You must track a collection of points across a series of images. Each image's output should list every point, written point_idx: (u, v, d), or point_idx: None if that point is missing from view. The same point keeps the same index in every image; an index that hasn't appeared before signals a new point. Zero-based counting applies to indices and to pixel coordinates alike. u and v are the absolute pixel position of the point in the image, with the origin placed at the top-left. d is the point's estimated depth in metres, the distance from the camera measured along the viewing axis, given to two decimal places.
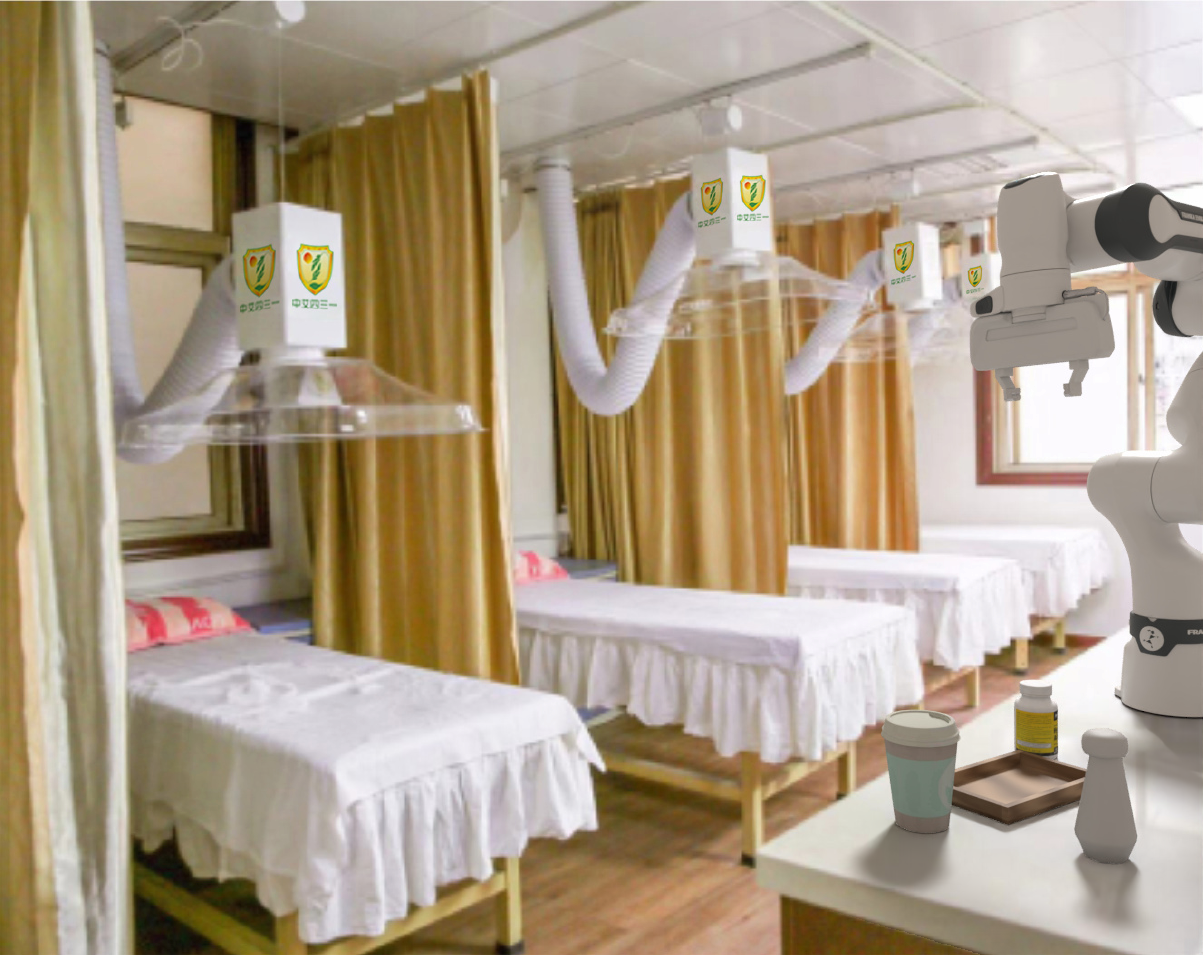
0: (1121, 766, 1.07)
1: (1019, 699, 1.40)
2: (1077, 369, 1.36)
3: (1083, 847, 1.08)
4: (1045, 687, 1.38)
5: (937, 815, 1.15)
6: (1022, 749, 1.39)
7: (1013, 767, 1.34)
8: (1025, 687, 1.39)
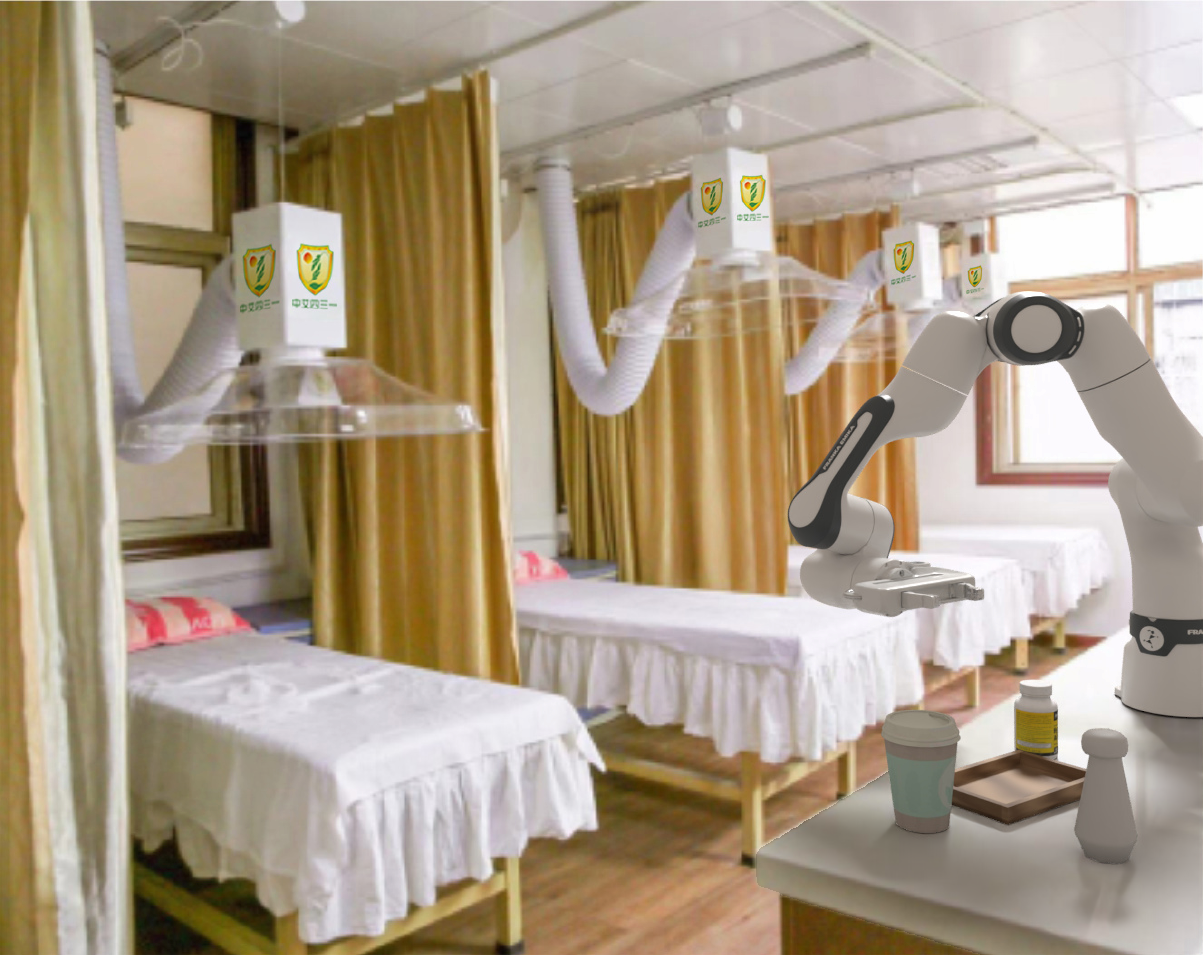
0: (1121, 766, 1.07)
1: (1019, 699, 1.40)
2: (909, 607, 1.49)
3: (1083, 847, 1.08)
4: (1045, 687, 1.38)
5: (937, 815, 1.15)
6: (1022, 749, 1.39)
7: (1013, 767, 1.34)
8: (1025, 687, 1.39)
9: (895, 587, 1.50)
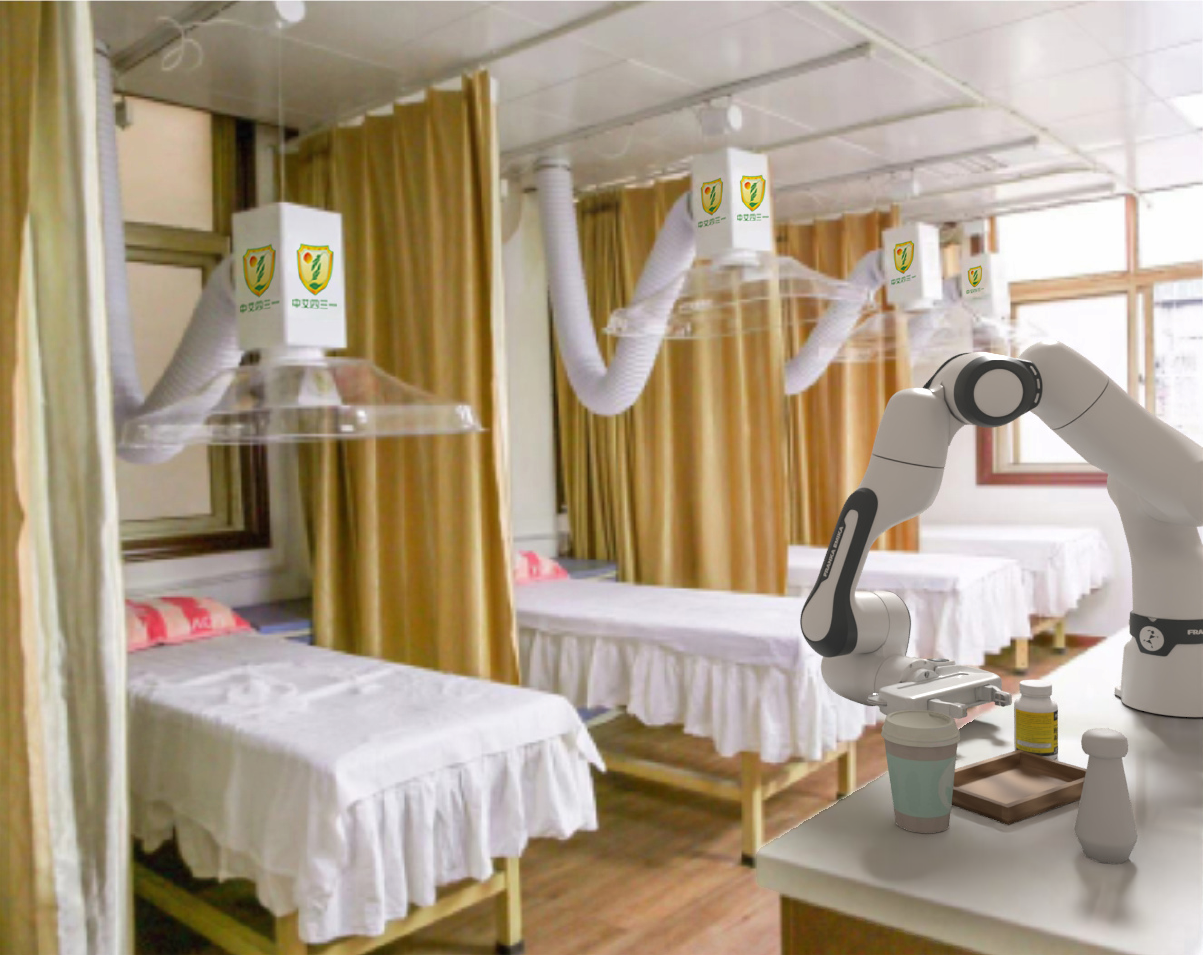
0: (1121, 766, 1.07)
1: (1019, 699, 1.40)
2: None
3: (1083, 847, 1.08)
4: (1045, 687, 1.38)
5: (937, 815, 1.15)
6: (1022, 749, 1.39)
7: (1013, 767, 1.34)
8: (1025, 687, 1.39)
9: (921, 695, 1.47)
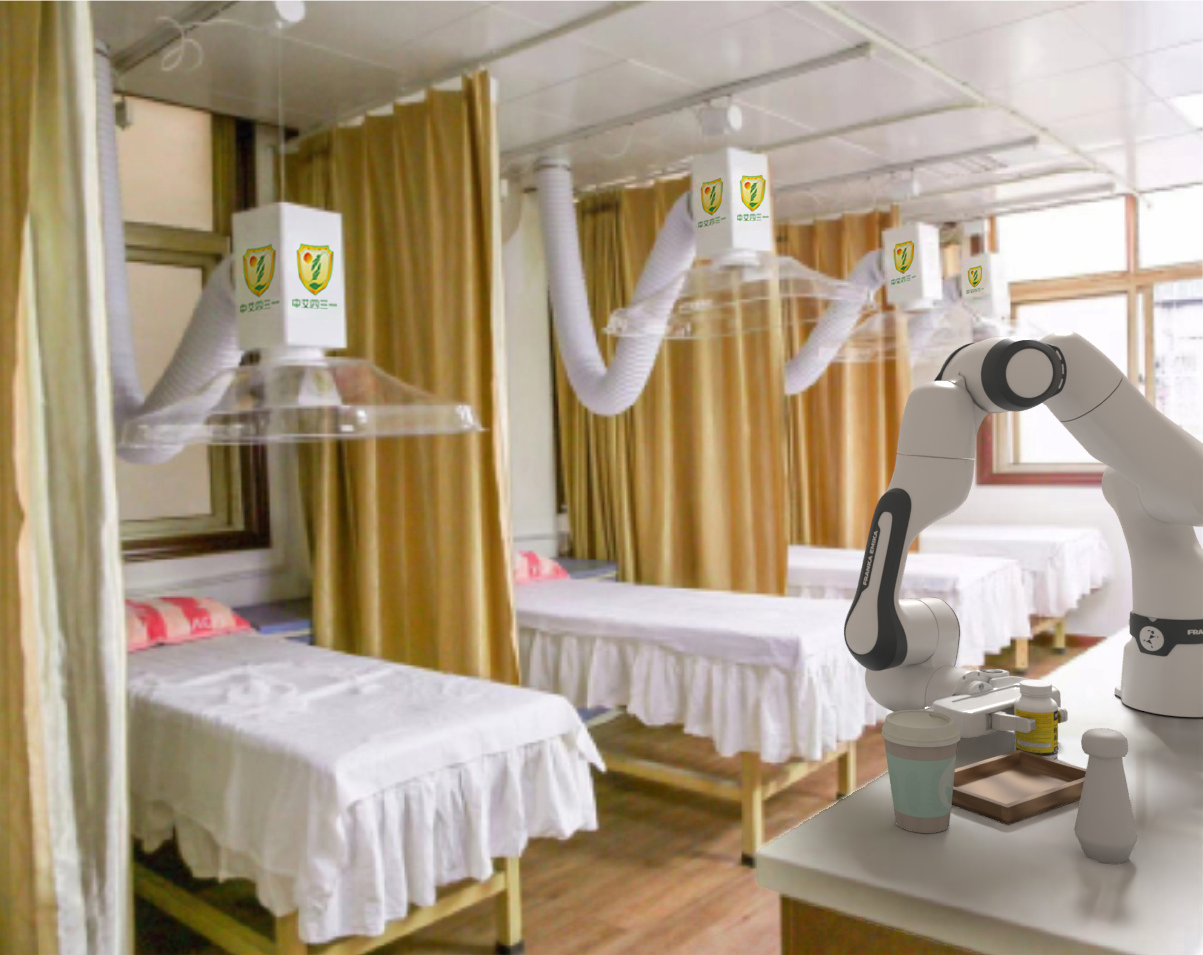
0: (1121, 766, 1.07)
1: (1019, 699, 1.40)
2: None
3: (1083, 847, 1.08)
4: (1045, 687, 1.38)
5: (937, 815, 1.15)
6: (1022, 749, 1.39)
7: (1013, 767, 1.34)
8: (1025, 687, 1.39)
9: (979, 709, 1.39)
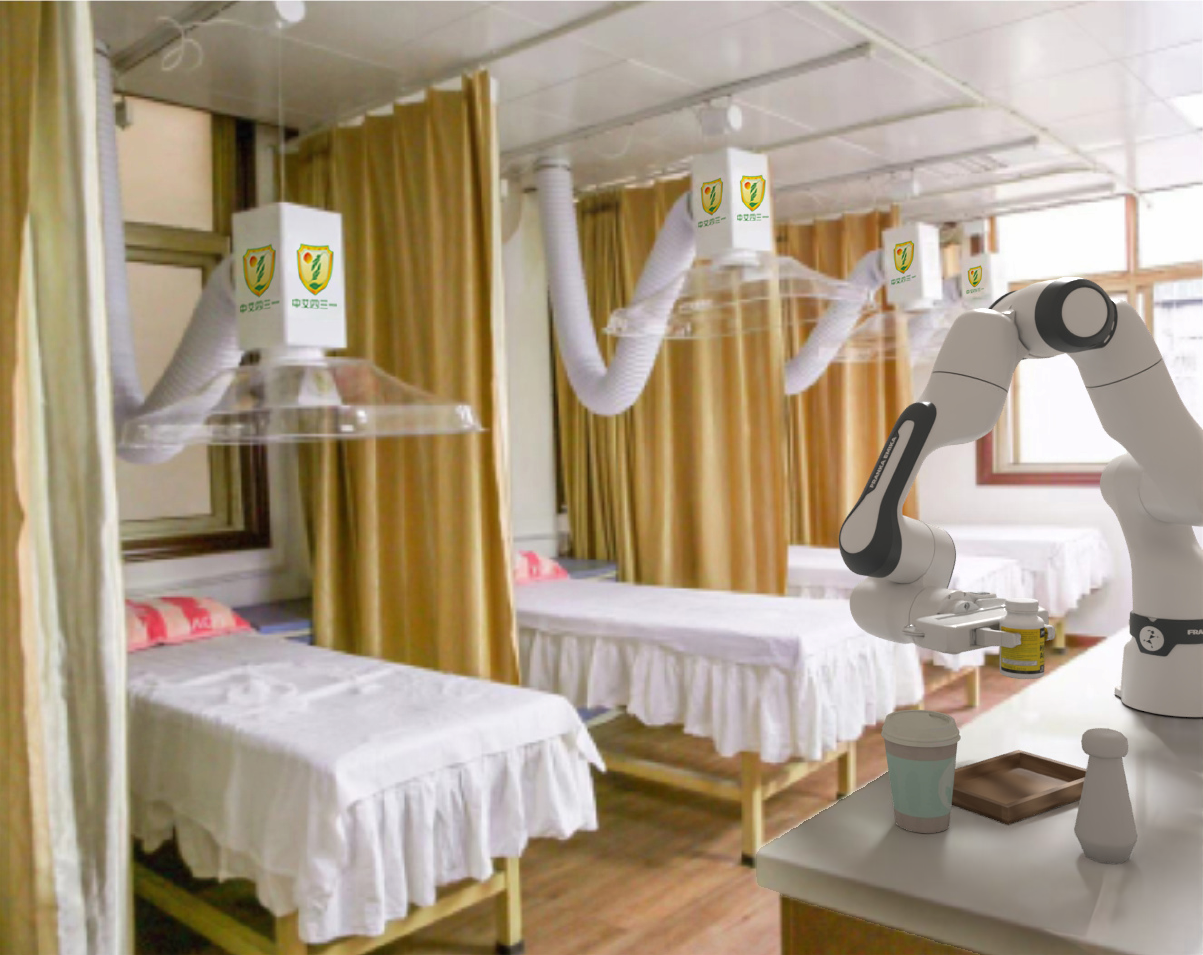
0: (1121, 766, 1.07)
1: (1004, 616, 1.35)
2: (986, 646, 1.34)
3: (1083, 847, 1.08)
4: (1031, 603, 1.33)
5: (937, 815, 1.15)
6: (1007, 667, 1.34)
7: (1013, 767, 1.34)
8: (1011, 604, 1.34)
9: (963, 624, 1.34)
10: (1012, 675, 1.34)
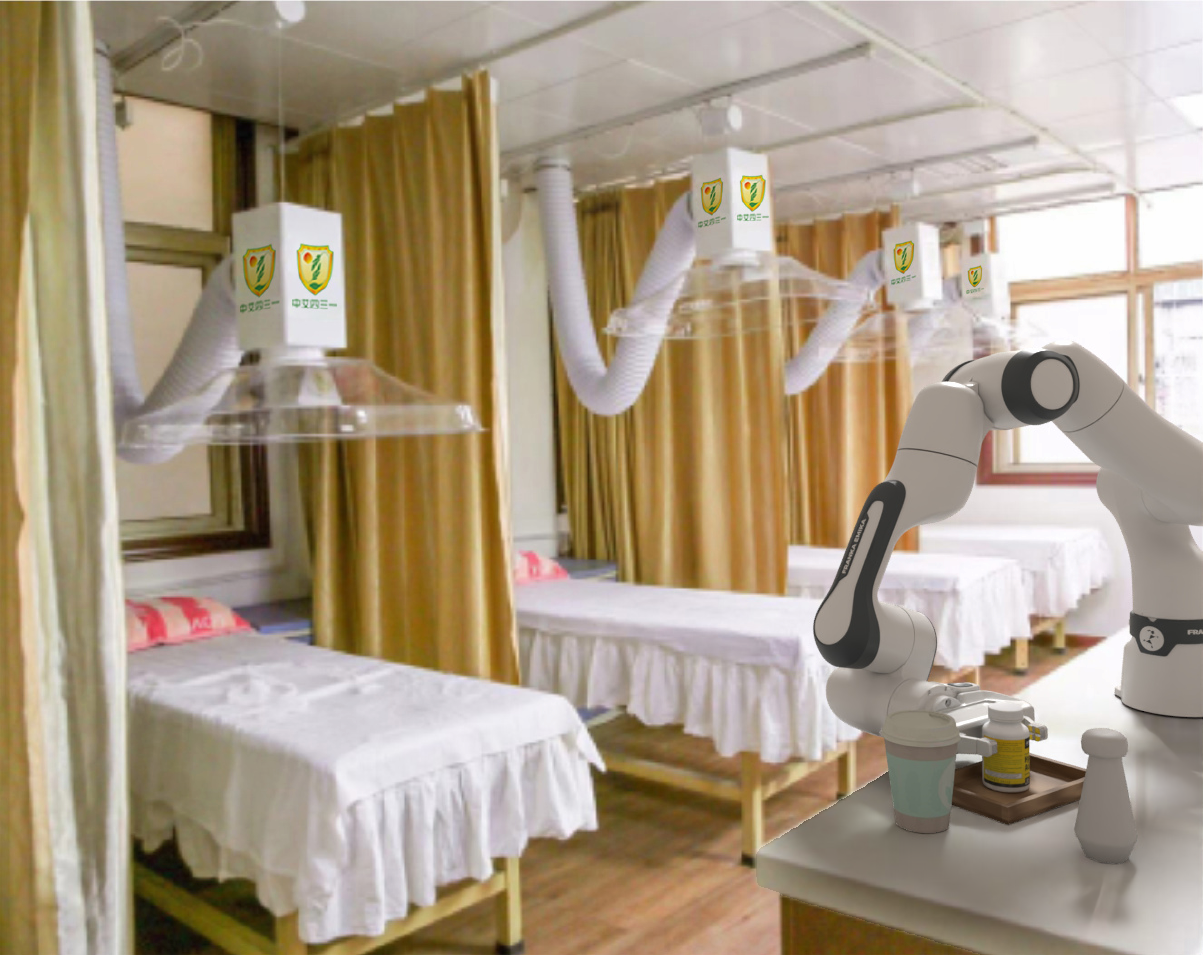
0: (1121, 766, 1.07)
1: (987, 724, 1.27)
2: (960, 753, 1.25)
3: (1083, 847, 1.08)
4: (1015, 712, 1.25)
5: (937, 815, 1.15)
6: (990, 779, 1.26)
7: None
8: (994, 712, 1.26)
9: None
10: (996, 788, 1.26)
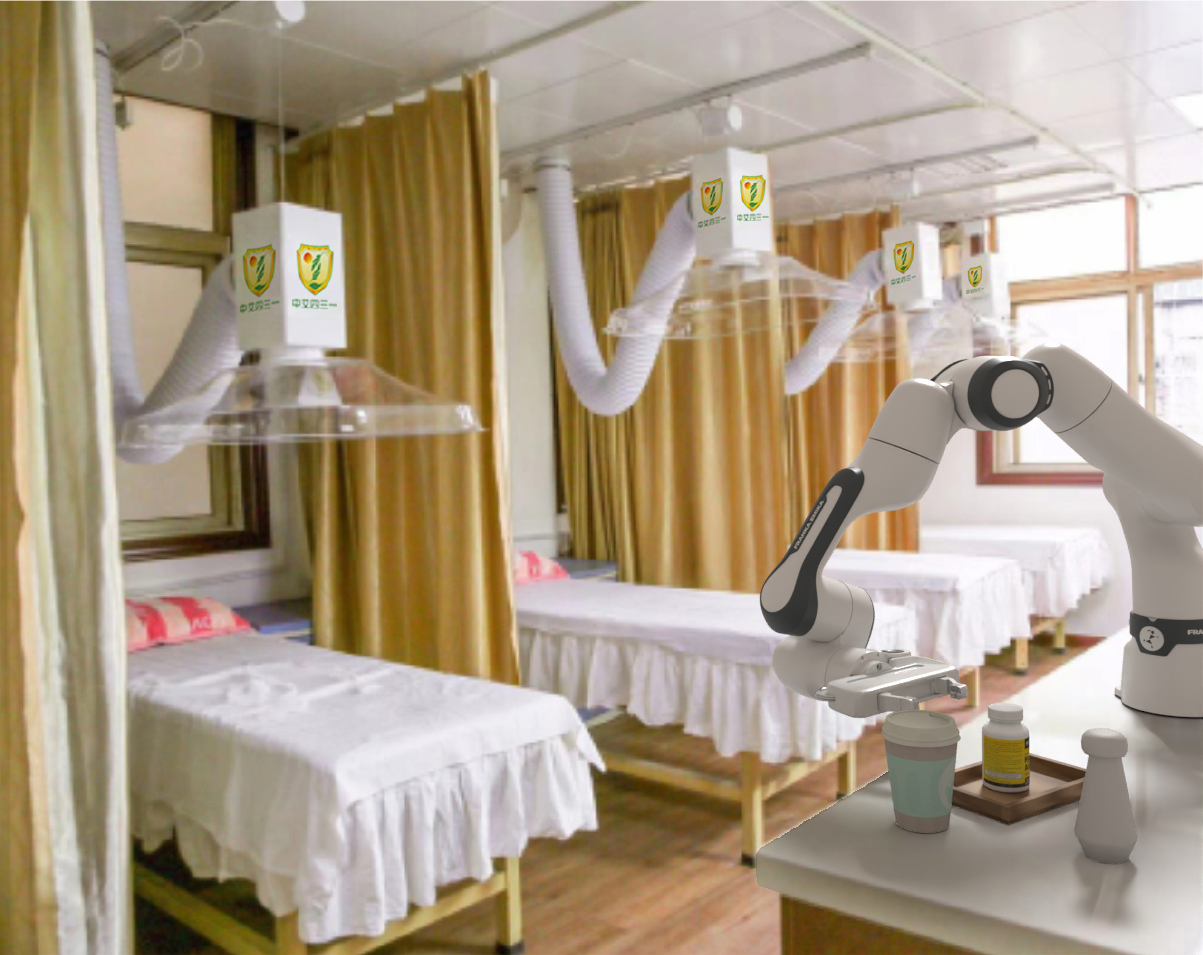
0: (1121, 766, 1.07)
1: (987, 724, 1.27)
2: (886, 711, 1.37)
3: (1083, 847, 1.08)
4: (1015, 712, 1.25)
5: (937, 815, 1.15)
6: (990, 780, 1.26)
7: None
8: (994, 712, 1.26)
9: (871, 688, 1.38)
10: (996, 788, 1.26)
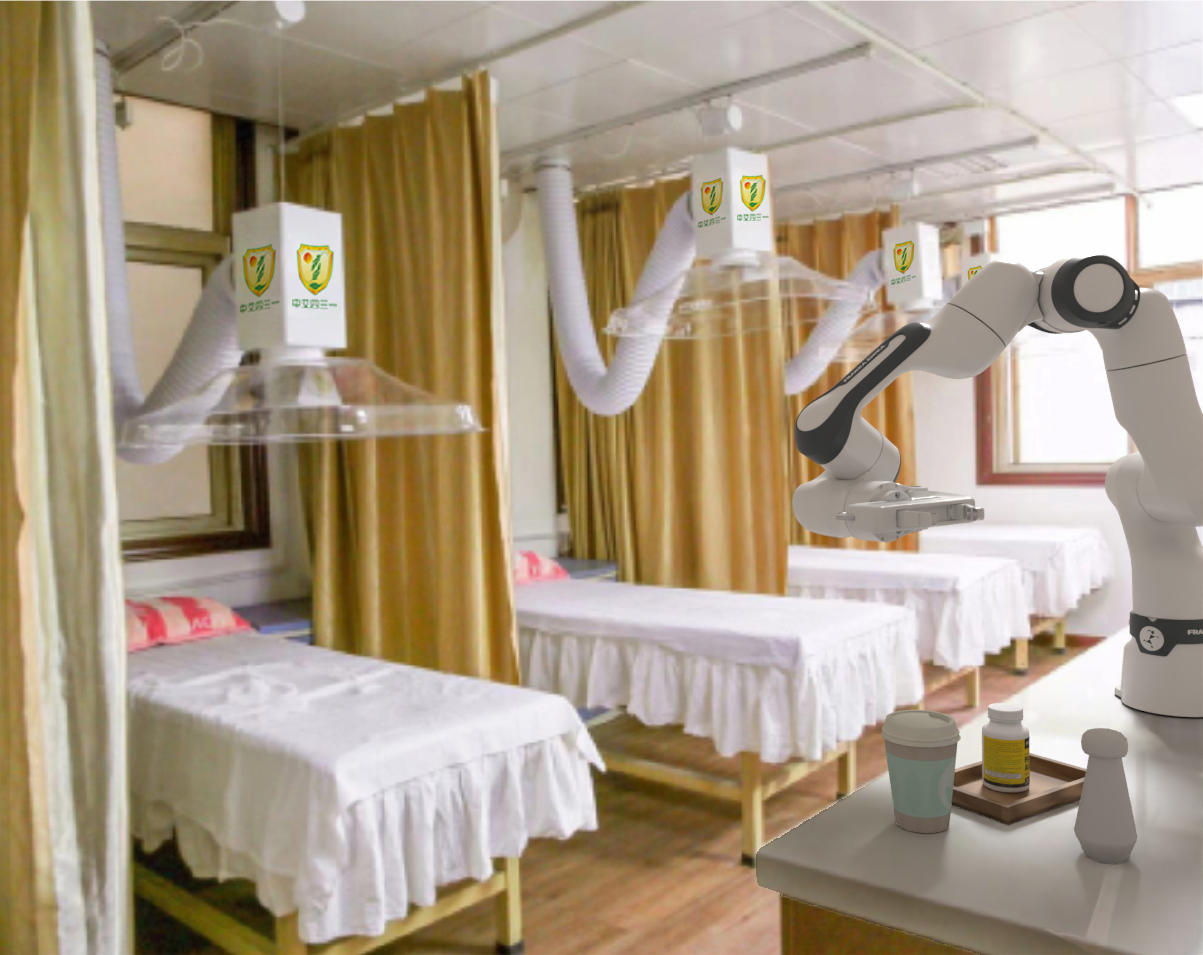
0: (1121, 766, 1.07)
1: (987, 724, 1.27)
2: (905, 526, 1.41)
3: (1083, 847, 1.08)
4: (1015, 712, 1.25)
5: (937, 815, 1.15)
6: (990, 780, 1.26)
7: None
8: (994, 712, 1.26)
9: (890, 505, 1.42)
10: (996, 788, 1.26)
